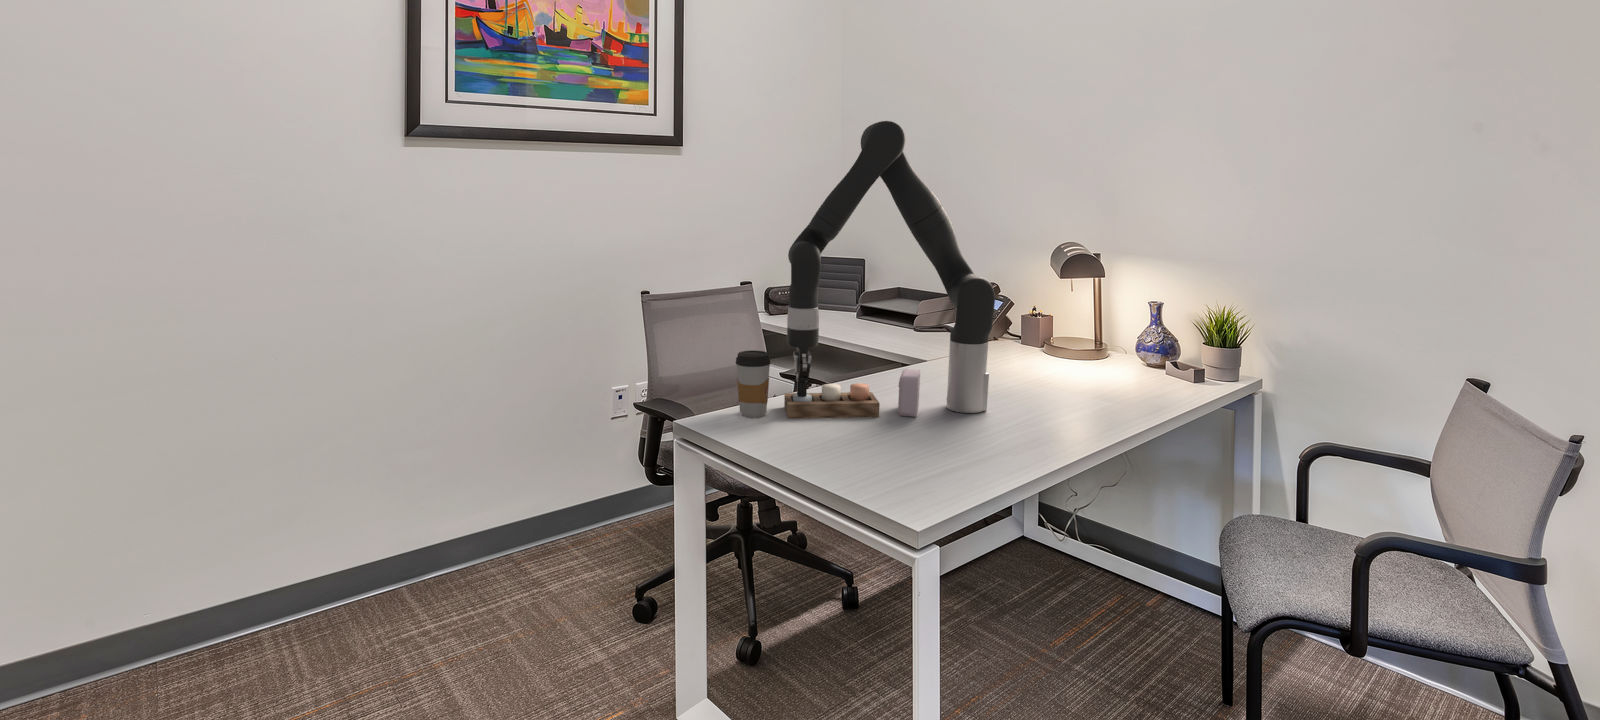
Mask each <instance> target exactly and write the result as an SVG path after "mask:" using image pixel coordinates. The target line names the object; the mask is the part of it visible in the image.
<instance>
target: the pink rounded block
mask: <svg viewBox="0 0 1600 720" xmlns="http://www.w3.org/2000/svg"><path fill="white" fill-rule="evenodd" d="M849 387H850V390H849V392H850V399H851V400H855V401H866V400H868V399H869V392H870V385H869V384H866V383H857V382H856V383H852V384H850V386H849Z"/></svg>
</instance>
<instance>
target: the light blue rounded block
mask: <svg viewBox="0 0 1600 720" xmlns="http://www.w3.org/2000/svg"><path fill="white" fill-rule="evenodd" d="M807 401H812V395H810V394H807V395H806V397H798V395H797V394H795V395H793V402H807Z"/></svg>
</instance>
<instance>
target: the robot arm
mask: <svg viewBox="0 0 1600 720" xmlns="http://www.w3.org/2000/svg"><path fill="white" fill-rule="evenodd" d="M905 146H906V134H905V132H904V130H903V128H902V127H901V125H899V124H898V123H896V122H895V121H892V120H882V121H881V120H880V121H878V122H875V123H872V124H870V125H869V126H867V127H866V128H865V129H864V130H863V132H862V135H861V136H860V149H861V151H860V153H859V155H858V157H857V159H856V160H855V161H854V162H853V163H854V164H852V166H851V167H850V169H849V170H848V171H847V173H846V174H845V175H844V177H842V179H841V180H840V181H839V182H838V184H837V185H836V186H835V187H834V188H833V190H832V191H830V193H829V194H828V196H827V197H826V198H825V200H824V201H822V203H821V205H820V206H819V208H818V209H817V210H816V212H815V214H814V215H813V217H812V218H811V220H810V222H808V225H806V227H805V228H804V229H803V230H802V232H801V233H800V234H799V235H798V236H797V238H796V239H795V240H794V242H793V243H792V244H791V246H790V248H789V250H788V255H787V256H788V257H787V258H788V261H789V263H790V285H789V288H788V310H787V319H786V320H787V321H786V323H787V324H786V326H787V328H786V331H787V332H786V344H787V346H789V347H792V348H796V351H793V359H794V370H795V373H794V374H795V376H796V377H795V379H796V393H797V395H798V397H806V395H807V393H808V392H807V390H808V389H807V385H808V384H807V382H809V380H810V372H811V366H812V364H811V361H812V354H811V351H810V348H815V347H817V346H818V345H819V328H820V325H819V324H820V314H819V284H820V283H819V282H820V275H821V265H822V256H821V255H822V253H823V251H824V250H825V249H826V247H827V246H828V244H829V243H830V242H831V241H833V240H834V239H835V238H836V237H837V236H838V235H839V234H840V232H841V231H842V230H843V228H844V226H845V225H846V223H847V222H848V220H849V219H850V217H851V216H852V214H853V213H854V211H855V210H856V209H857V207H858V205H859V204H860V202H861V201H862V200H863V198H864V197H865V196H866V194H867V192H868V191H869V190H870V188H871V187H872V186H873V184H875V182H876V181H877V180H878V179H879V178H880V179H881V180H882V182H883V183H884V185H886V186H885V187H887V189H888V192H889V193H890V195H891V197H892V200H893V201H894V204H895V205H896V207H897V209H898V212H899V214H900V215H901V217H902V218H903V221H904V222H905V224H906V226H907V227H908V229H909V231H910V233H911V234H912V236H913V237H914V239H915V241H916V242H917V244H918V246H919V247H920V248H921V250H922V252H923V253H924V254H925V256H926V257H927V259H928V260H929V262H930V263H931V264H932V266H933V267H934V269H935V271H936V272H937V274H938V276H939V279H940V280H941V283H942V285H943V287H944V290H945V291H946V294H947V296H948V299H949V300H950V302H951V304H952V306H954V307H955V308H956V311H955V314H956V315H955V322H954V326H953V327H952V328H951V329H950V332H949V333H950V336H949V351H948V352H949V353H948V368H947V369H948V371H947V372H948V373H947V388H946V389H947V390H946V391H947V392H946V405H945V406H946V408H947V410H950V411H953V412H957V413H964V414H975V413H981V412H987V411H988V410H987V409H988V397H989V394H988V393H989V380H990V379H989V378H990V373H989V372H988V371H987V366H988V352H989V351H988V350H989V340H990V339H989V336H990V334H991V332H992V328H993V324H994V323H993V322H994V313H995V302H996V301H995V300H996V299H995V297H996V296H995V289H994V287H993V285H992V283H991V282H990V281H989V280H988V279H987V278H985V277H981V276H978V275H977V274H976V273H975V272H974V271H973V268H972V267H971V266H970V265H969V264H968V262H967V260H966V259H965V257H964V256H963V254H962V252H961V250H960V246H959V244H958V240H957V236H956V233H955V230H954V229H955V228H954V226H953V224H952V220H951V219H950V217H949V215H948V213H947V212H946V210H945V209H944V207H943V205H942V203H941V202H940V200H939V199H938V197H937V196H936V195H935V194H934V192H933V191H932V190H931V189H930V187H929V186H928V185H927V184H926V183H925V182H924V181H923V179H921V178H920V177H919V176H918V174H917V173H916V172H915V170H914V168H913V167H912V165H911V164H910V162H909V160H908V158H907V156H906V154H905V152H904V149H905Z"/></svg>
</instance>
